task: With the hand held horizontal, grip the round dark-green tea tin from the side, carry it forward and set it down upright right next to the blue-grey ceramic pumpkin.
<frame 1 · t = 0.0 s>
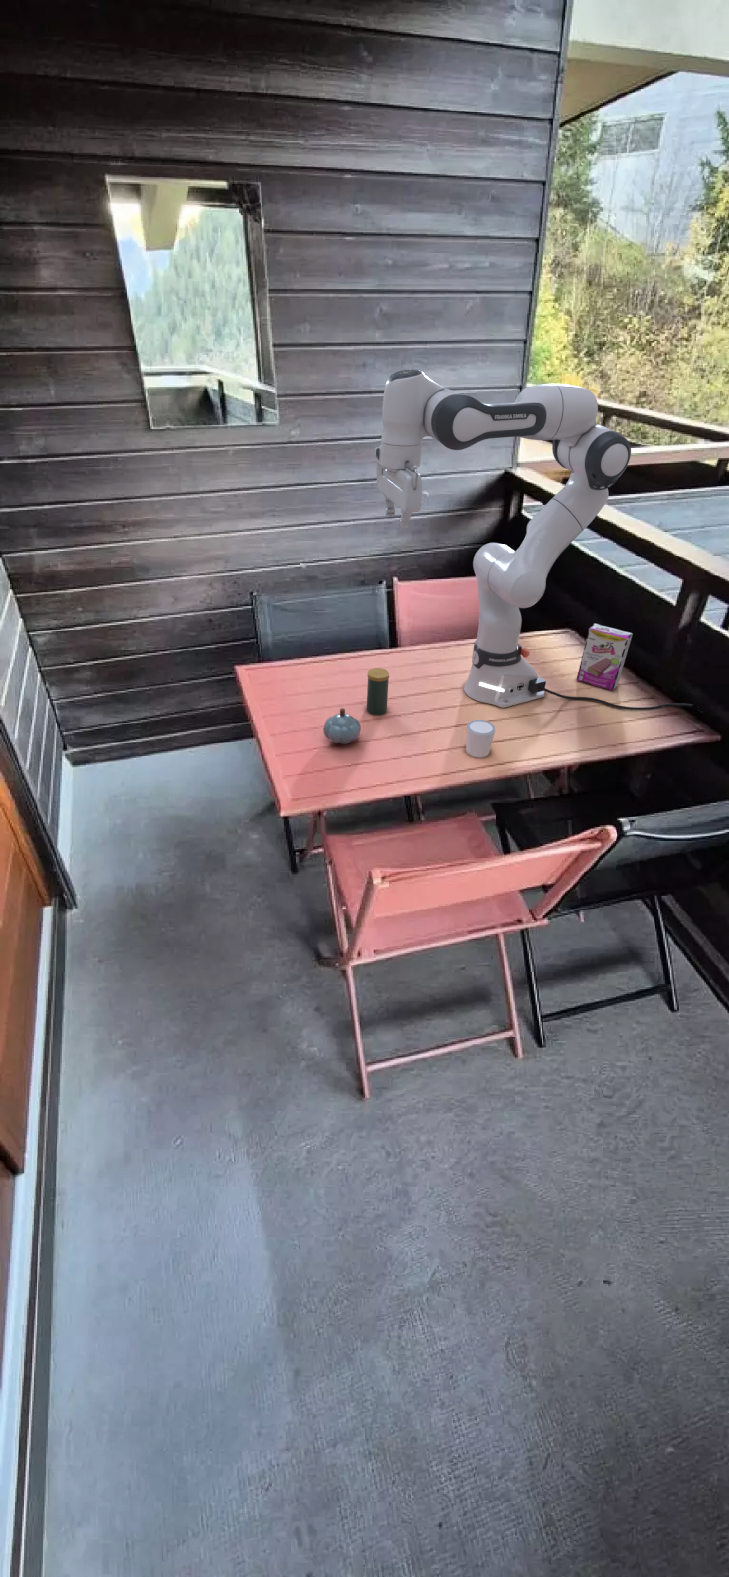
hand: (396, 522, 160), 48 cm above the table, tool pointing down, fingers open, 8 cm apart
pumpkin: (341, 740, 174), on the table
candy bar box: (596, 683, 203), on the table
tea tin: (376, 710, 186), on the table
white cup: (477, 751, 172), on the table
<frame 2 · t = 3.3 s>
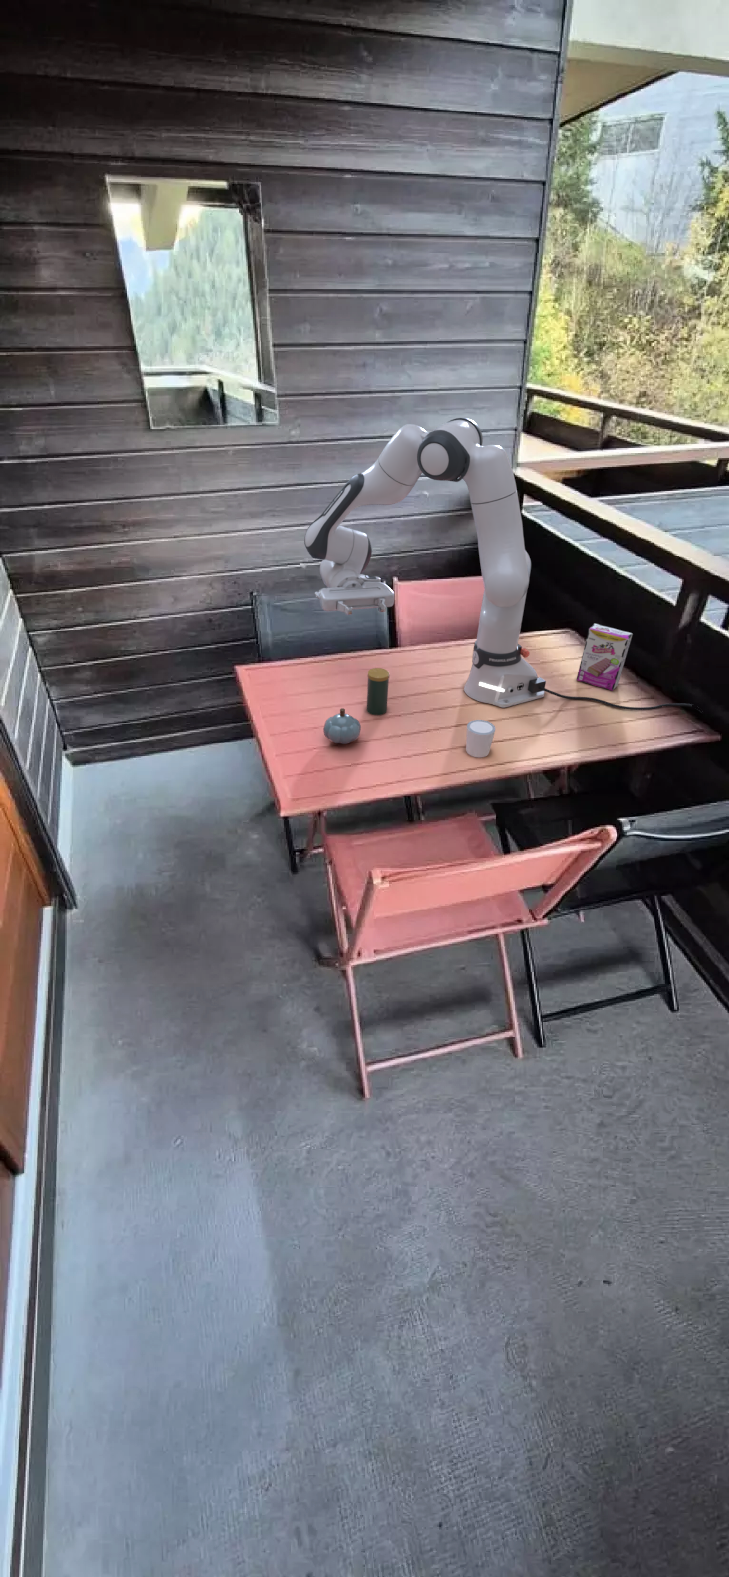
hand: (366, 610, 181), 23 cm above the table, tool horizontal, fingers open, 8 cm apart
nothing on the table moved.
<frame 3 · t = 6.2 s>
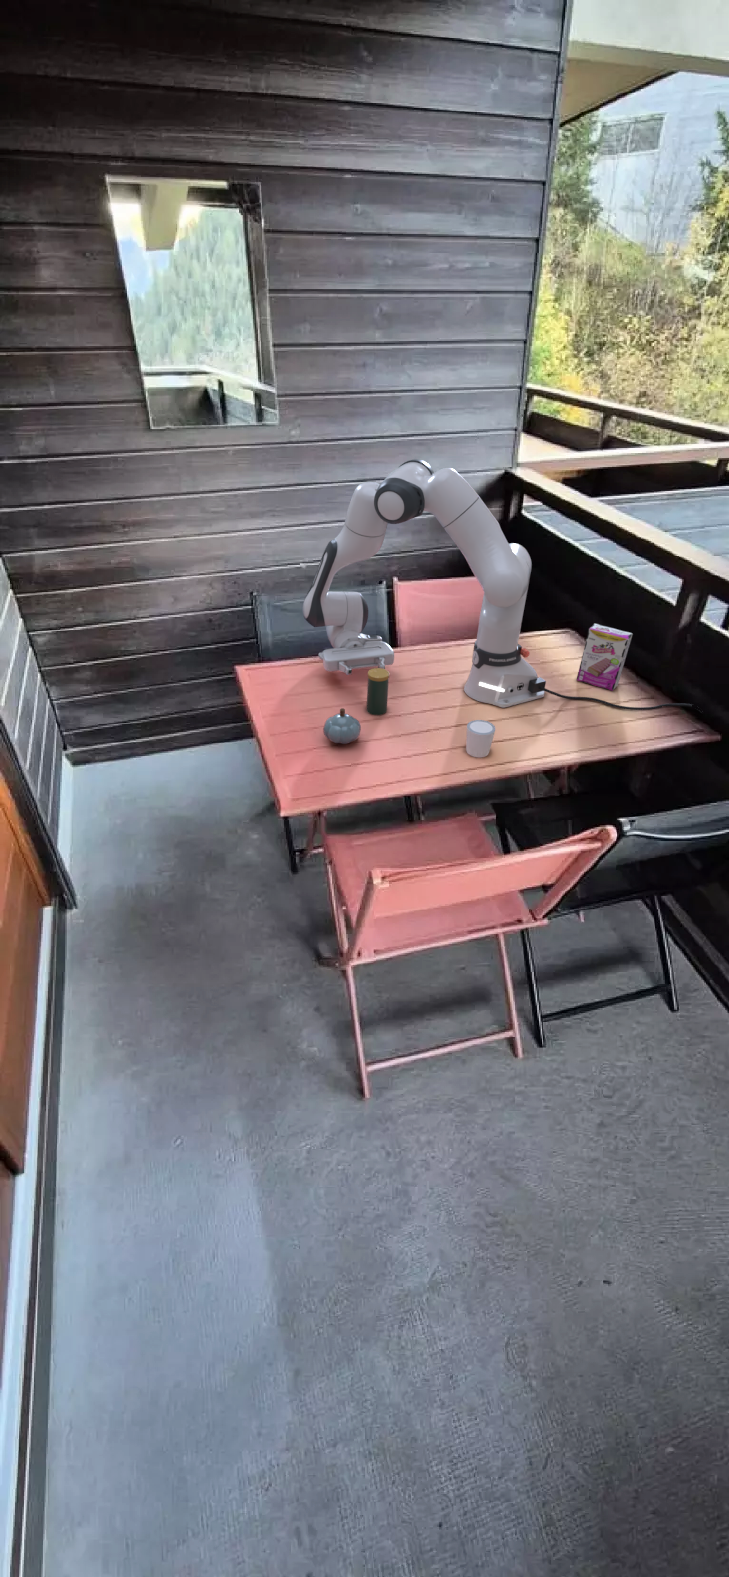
hand: (366, 670, 190), 7 cm above the table, tool horizontal, fingers open, 8 cm apart
nothing on the table moved.
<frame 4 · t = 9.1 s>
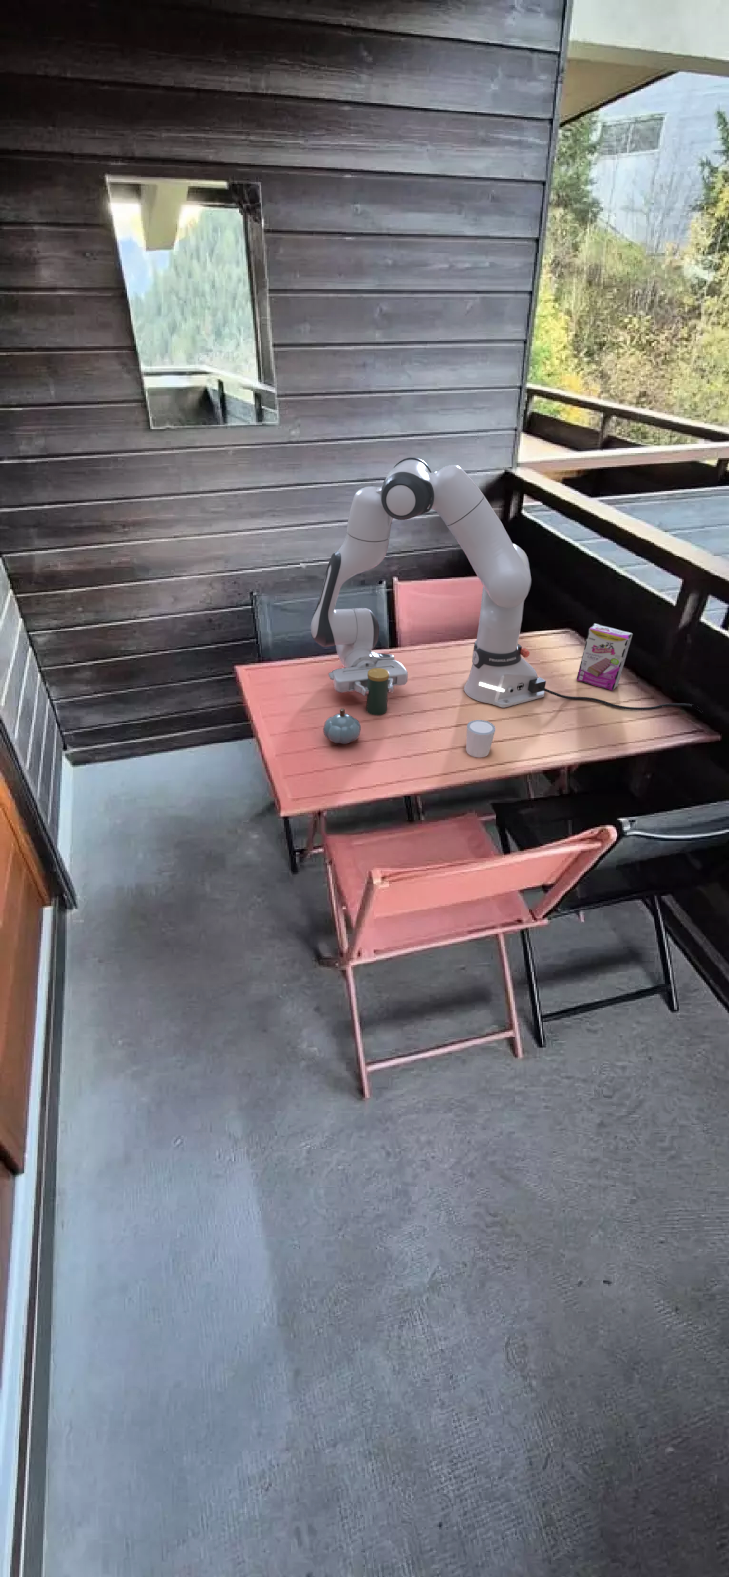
hand: (378, 691, 182), 6 cm above the table, tool horizontal, fingers closed on tea tin, 5 cm apart
tea tin: (376, 710, 186), on the table, touching gripper
everything else where it was.
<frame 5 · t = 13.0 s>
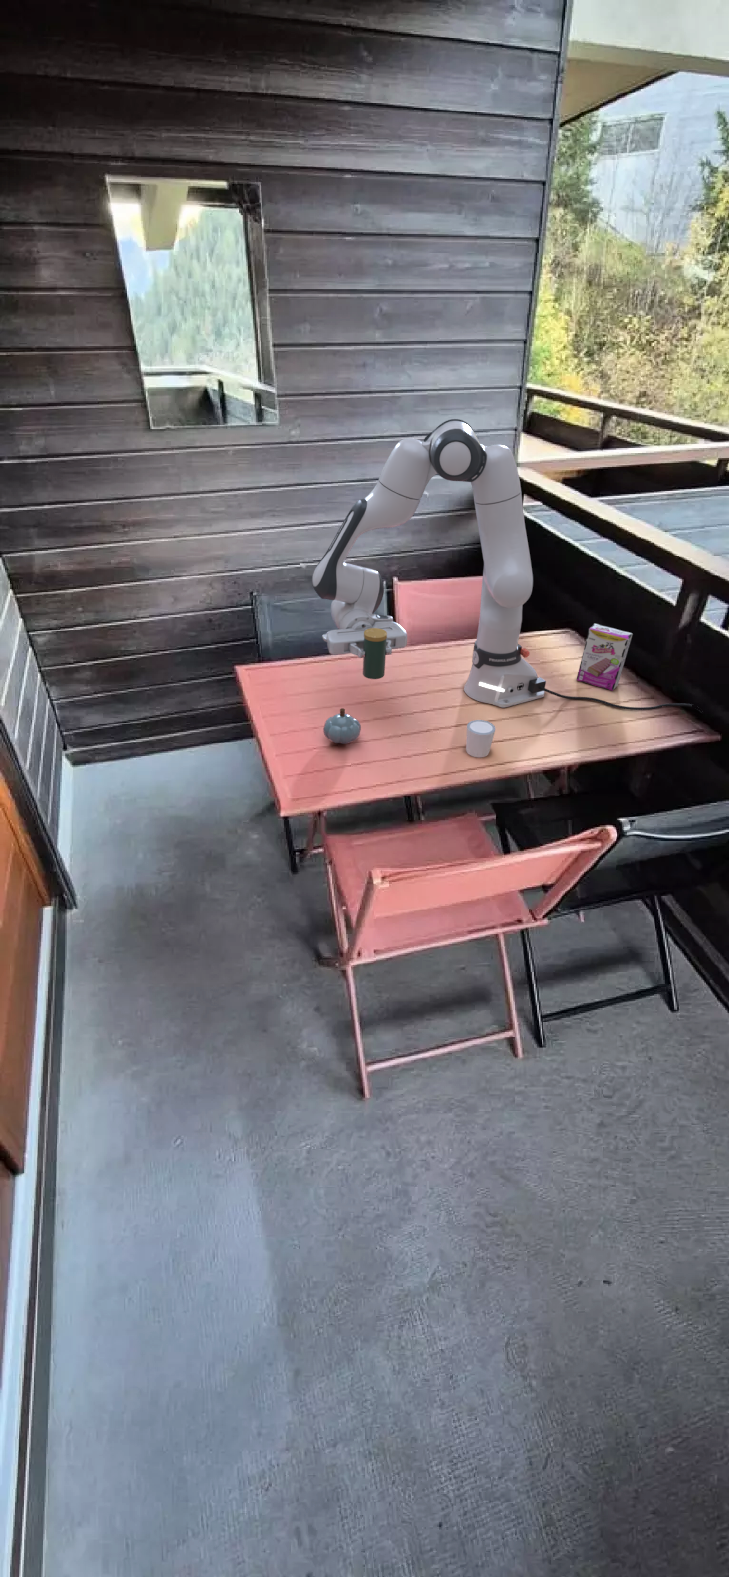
hand: (375, 653, 169), 20 cm above the table, tool horizontal, fingers closed on tea tin, 5 cm apart
tea tin: (373, 674, 173), point 14 cm above the table, touching gripper
everything else where it was.
when the fingers open (6 cm above the table, at t = 17.3 s): tea tin stays where it is, on the table.
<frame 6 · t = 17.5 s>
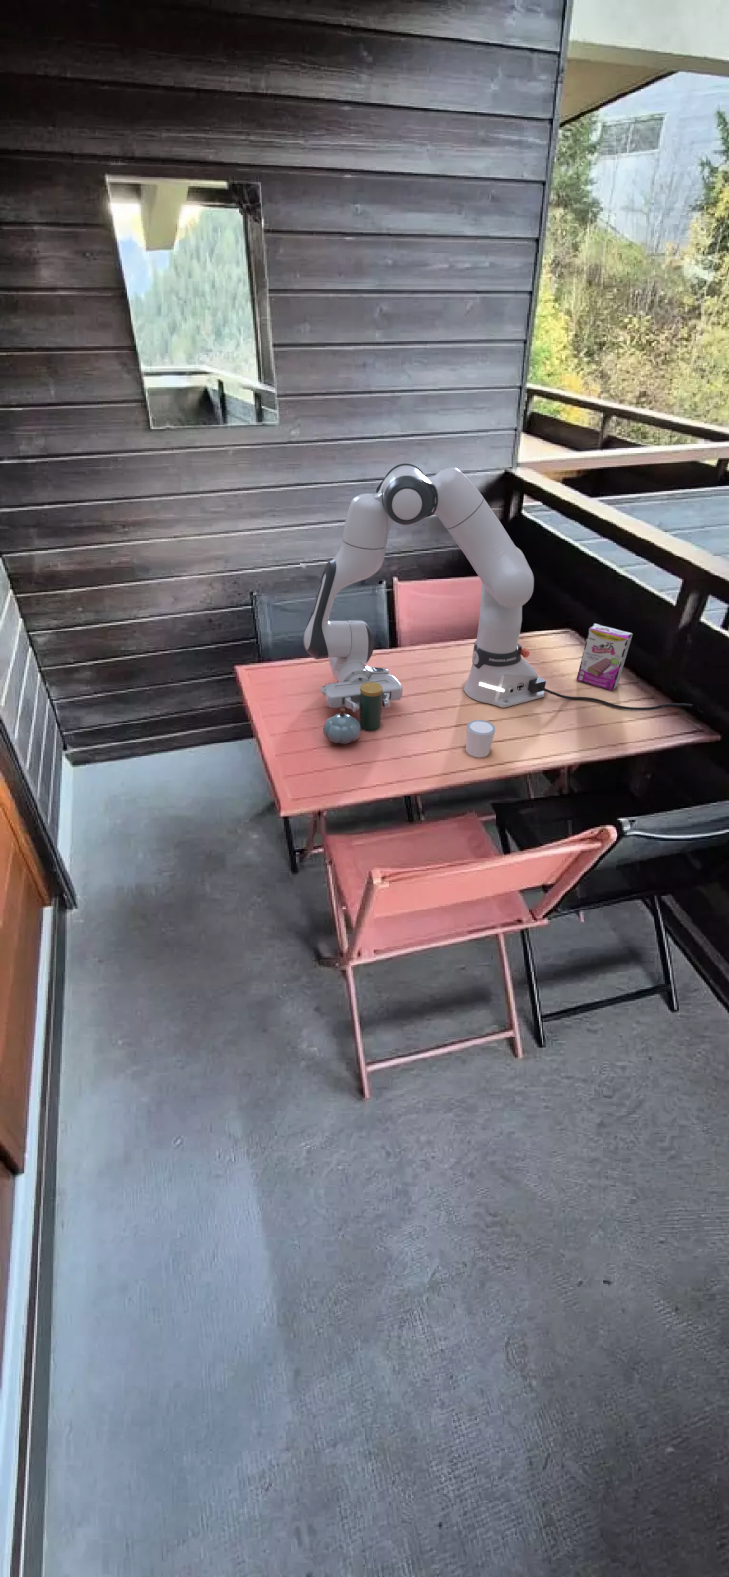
hand: (372, 707, 176), 6 cm above the table, tool horizontal, fingers open, 7 cm apart
tea tin: (369, 725, 180), on the table
everything else where it was.
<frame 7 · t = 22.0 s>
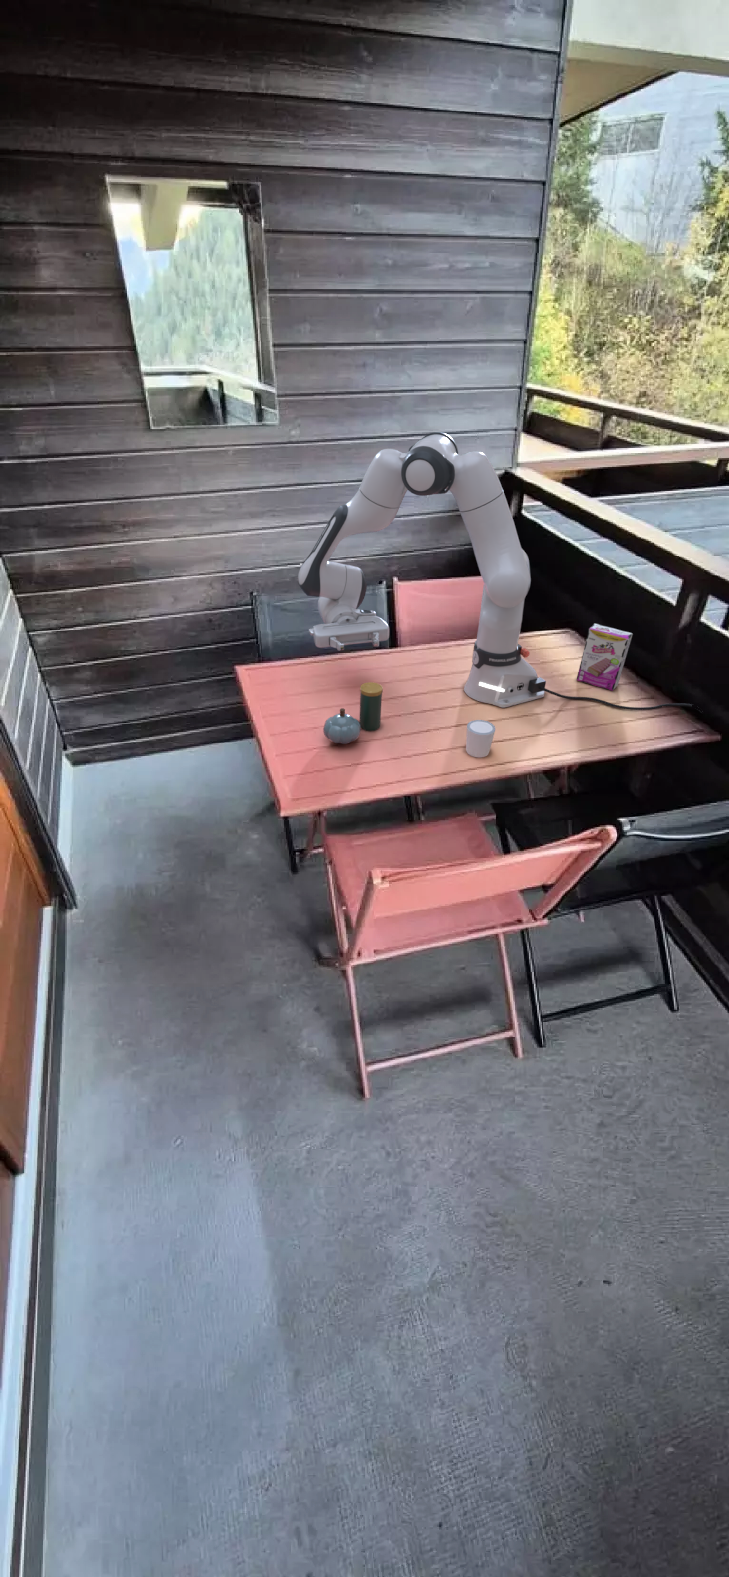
hand: (359, 645, 179), 17 cm above the table, tool horizontal, fingers open, 8 cm apart
nothing on the table moved.
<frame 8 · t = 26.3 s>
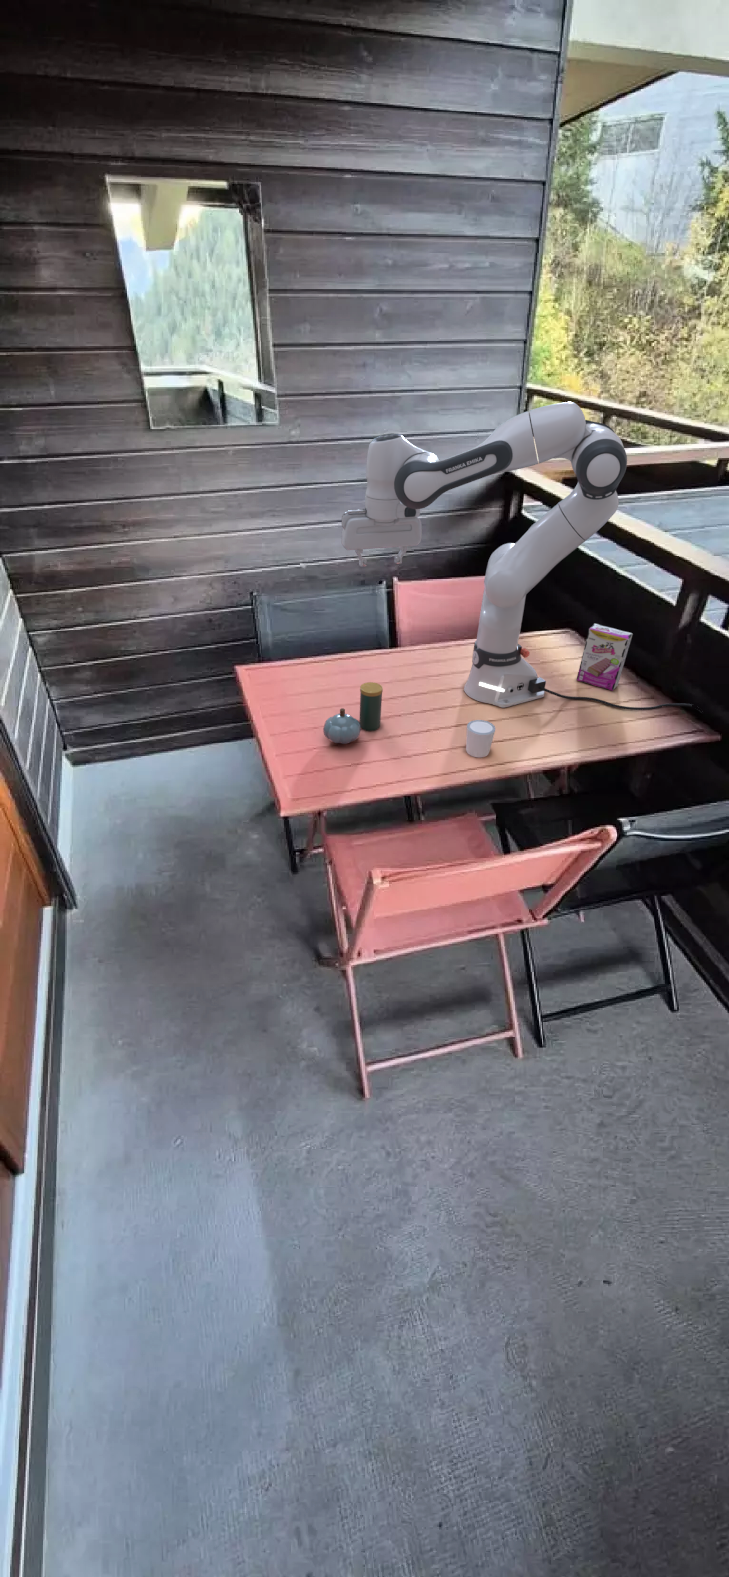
hand: (380, 564, 178), 34 cm above the table, tool pointing down, fingers open, 8 cm apart
nothing on the table moved.
at the end: tea tin 10.2 cm from the pumpkin (horizontally); tea tin tilted 0°; the gripper is holding nothing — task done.
